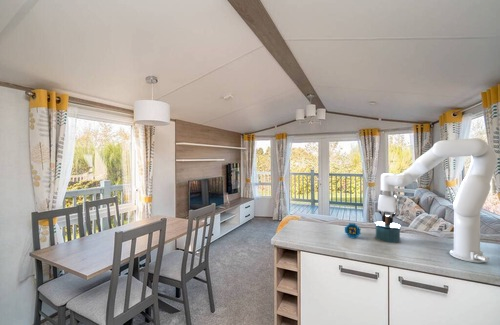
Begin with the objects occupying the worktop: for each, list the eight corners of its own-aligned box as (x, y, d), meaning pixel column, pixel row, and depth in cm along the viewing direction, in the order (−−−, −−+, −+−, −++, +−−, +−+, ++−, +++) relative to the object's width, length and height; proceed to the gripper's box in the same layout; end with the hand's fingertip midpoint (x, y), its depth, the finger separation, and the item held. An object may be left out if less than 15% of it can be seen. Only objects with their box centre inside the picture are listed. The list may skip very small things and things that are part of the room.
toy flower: (357, 237, 150) (361, 239, 134) (343, 235, 153) (345, 237, 137) (357, 223, 152) (360, 224, 136) (343, 222, 155) (344, 222, 139)
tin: (404, 242, 130) (404, 229, 130) (385, 244, 129) (385, 229, 129) (388, 235, 143) (388, 223, 143) (371, 236, 141) (371, 223, 141)
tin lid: (406, 229, 130) (406, 218, 130) (385, 230, 128) (385, 218, 128) (388, 222, 143) (388, 212, 143) (369, 223, 142) (369, 213, 141)
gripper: (404, 194, 131) (404, 224, 131) (376, 191, 144) (376, 219, 144) (400, 195, 127) (400, 227, 127) (371, 192, 140) (370, 221, 140)
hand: (387, 222), depth 136 cm, fingers closed on tin lid, 2 cm apart
